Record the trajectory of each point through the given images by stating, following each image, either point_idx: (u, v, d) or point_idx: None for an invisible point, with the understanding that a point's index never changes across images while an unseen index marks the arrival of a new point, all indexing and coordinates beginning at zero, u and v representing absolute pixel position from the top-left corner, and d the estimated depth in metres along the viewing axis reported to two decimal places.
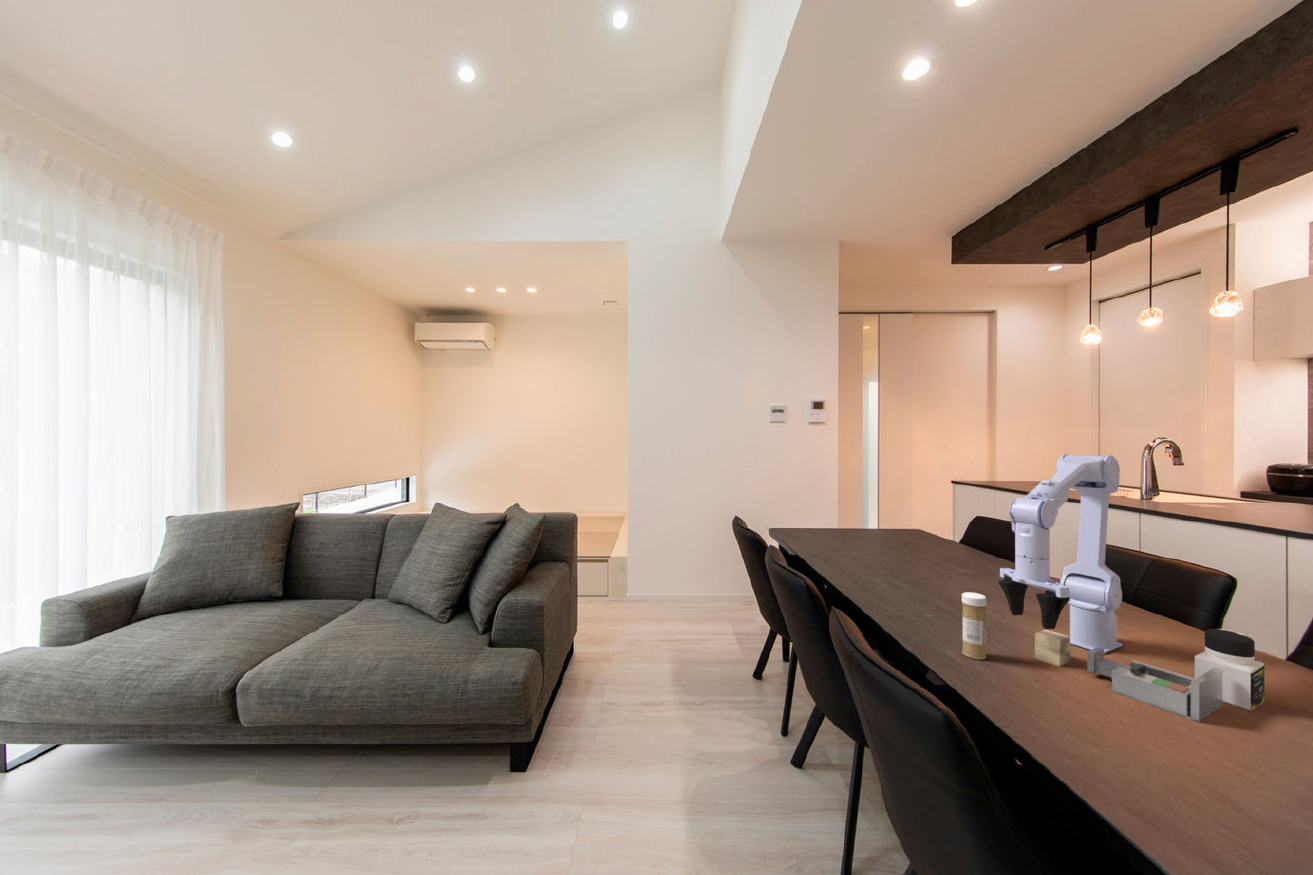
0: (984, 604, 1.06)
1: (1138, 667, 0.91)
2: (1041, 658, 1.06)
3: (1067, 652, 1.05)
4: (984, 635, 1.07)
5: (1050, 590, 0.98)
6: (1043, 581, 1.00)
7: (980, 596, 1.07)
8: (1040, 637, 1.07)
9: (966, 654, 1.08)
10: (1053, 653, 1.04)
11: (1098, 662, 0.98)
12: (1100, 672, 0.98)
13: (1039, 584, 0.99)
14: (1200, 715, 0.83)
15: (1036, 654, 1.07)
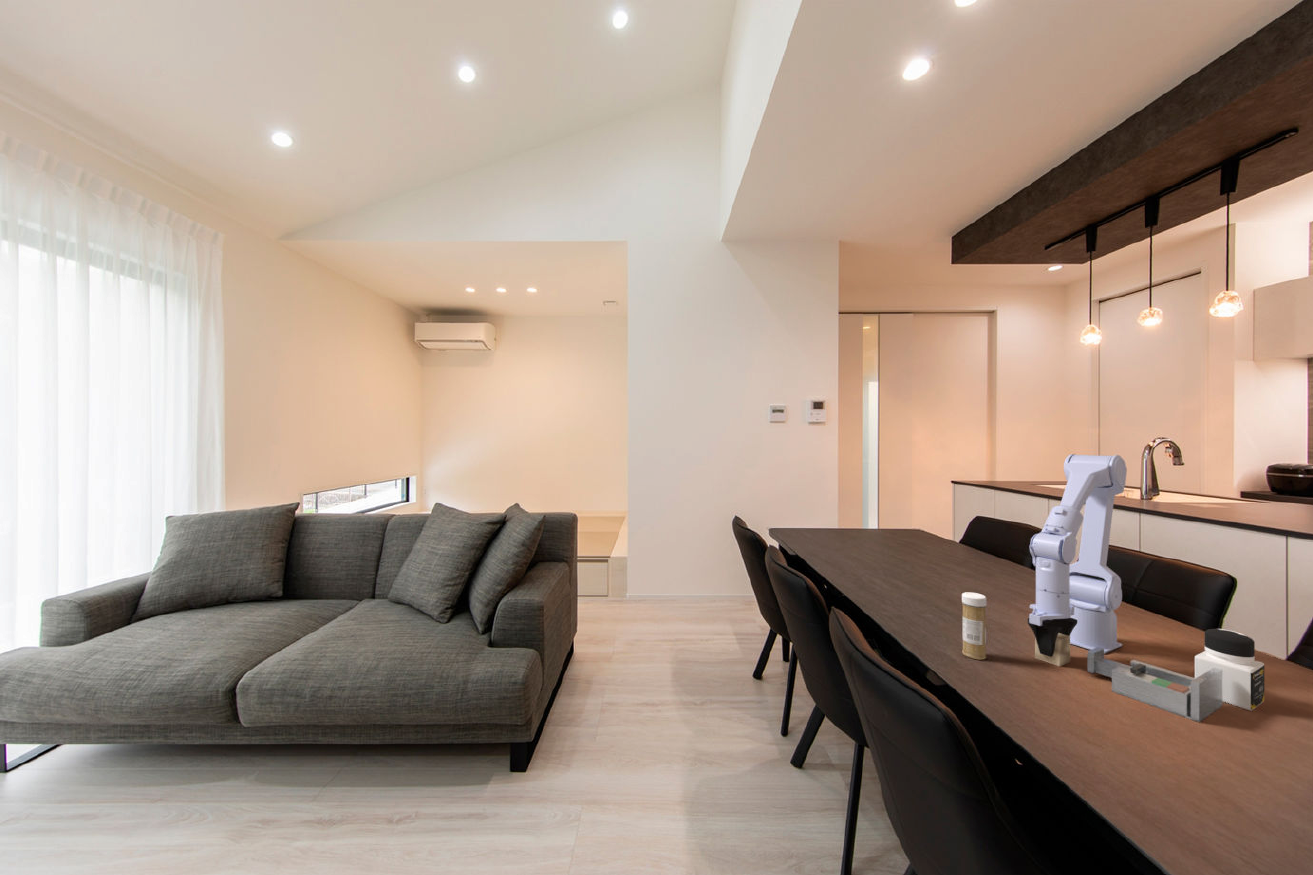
0: (984, 604, 1.06)
1: (1138, 667, 0.91)
2: (1041, 658, 1.06)
3: (1067, 652, 1.05)
4: (984, 635, 1.07)
5: None
6: (1043, 611, 1.05)
7: (980, 596, 1.07)
8: None
9: (966, 654, 1.08)
10: None
11: (1098, 662, 0.98)
12: (1100, 672, 0.98)
13: None
14: (1200, 715, 0.83)
15: (1036, 654, 1.07)
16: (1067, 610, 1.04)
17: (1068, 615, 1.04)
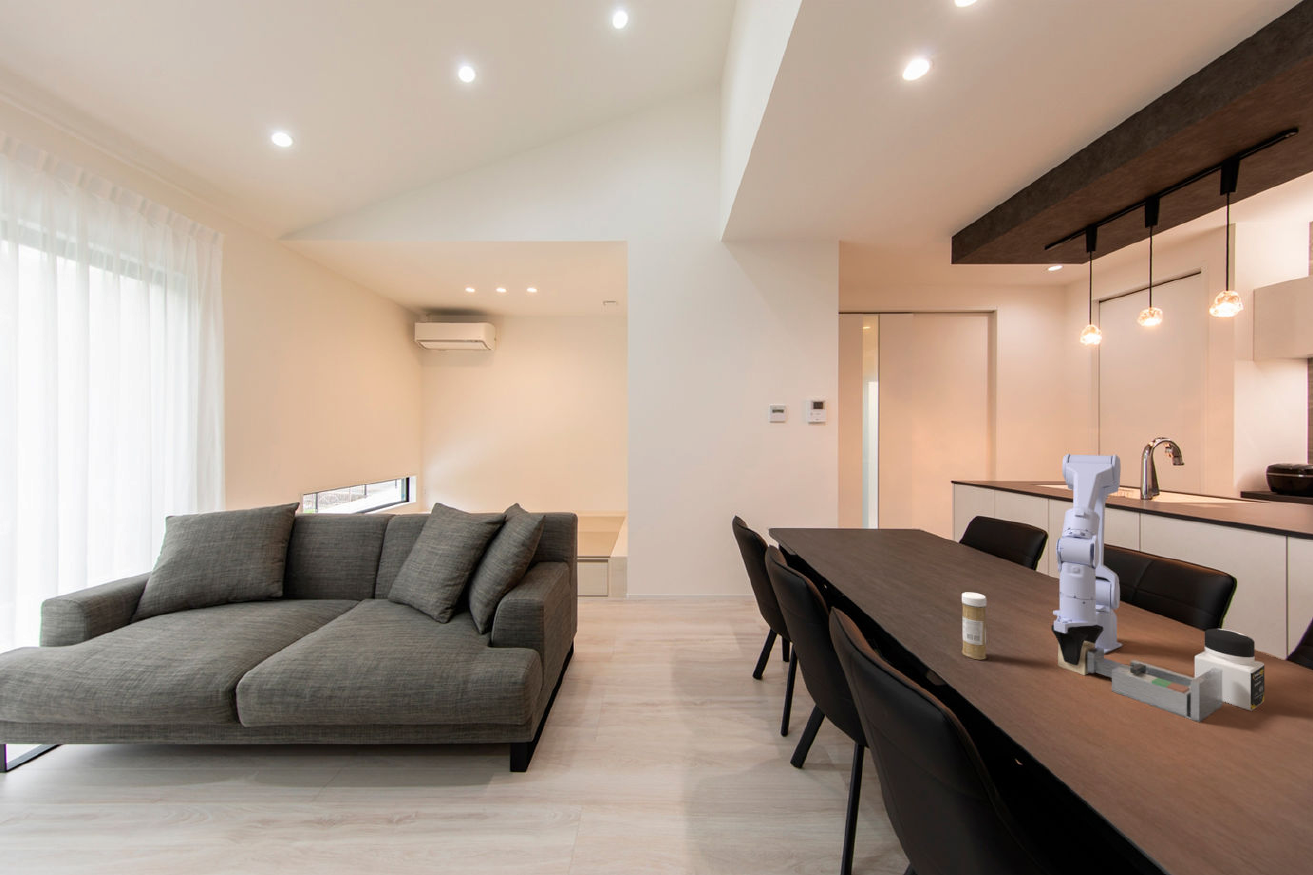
0: (984, 604, 1.06)
1: (1138, 667, 0.91)
2: (1065, 666, 1.03)
3: None
4: (984, 635, 1.07)
5: None
6: (1068, 618, 1.02)
7: (980, 596, 1.07)
8: None
9: (966, 654, 1.08)
10: None
11: (1098, 662, 0.98)
12: (1100, 672, 0.98)
13: None
14: (1200, 715, 0.83)
15: (1059, 662, 1.03)
16: (1093, 617, 1.00)
17: (1094, 622, 1.00)
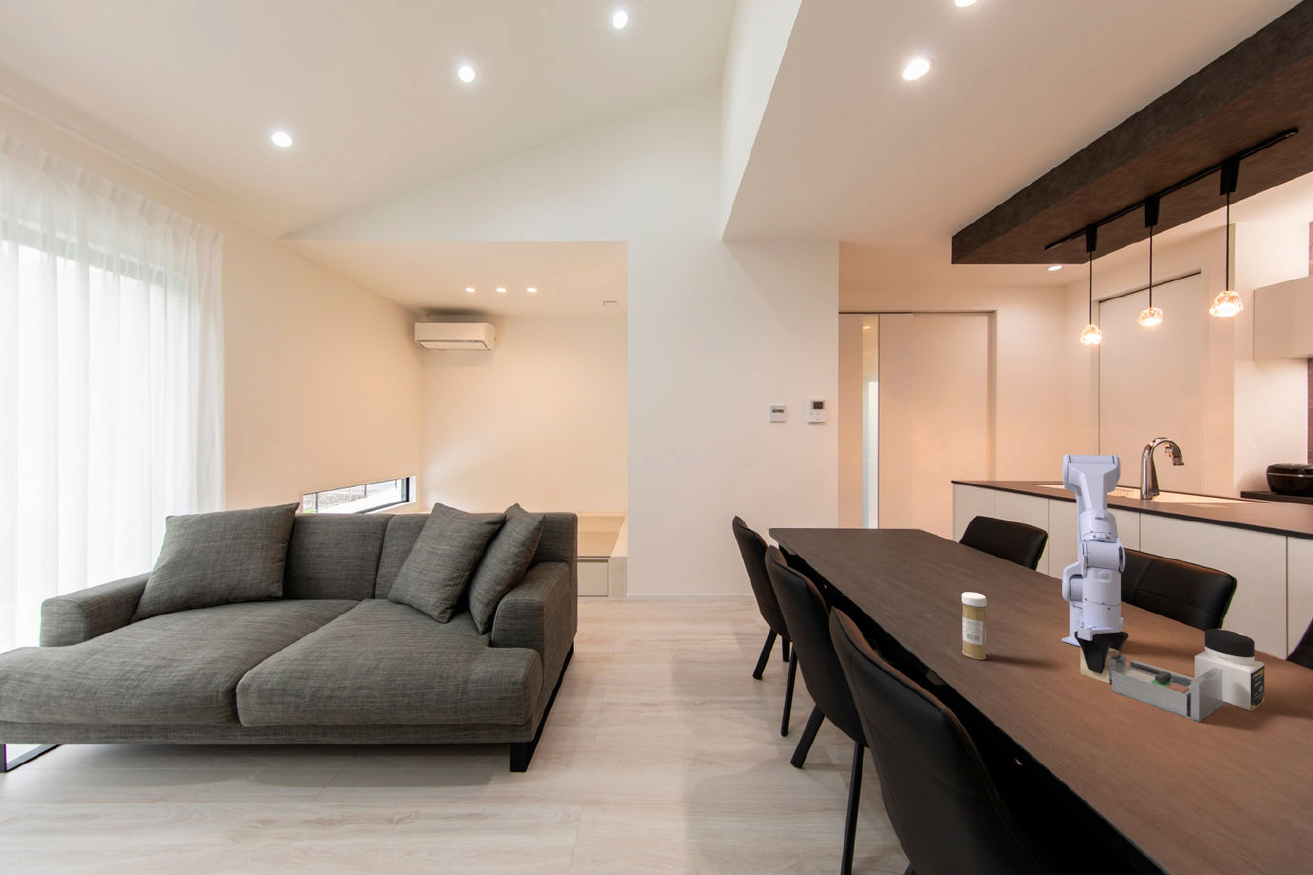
0: (984, 604, 1.06)
1: (1163, 675, 0.88)
2: (1088, 674, 0.99)
3: None
4: (984, 635, 1.07)
5: None
6: (1092, 624, 0.98)
7: (980, 596, 1.07)
8: None
9: (966, 654, 1.08)
10: None
11: None
12: None
13: None
14: (1200, 715, 0.83)
15: (1082, 669, 1.00)
16: (1118, 623, 0.96)
17: (1120, 629, 0.96)
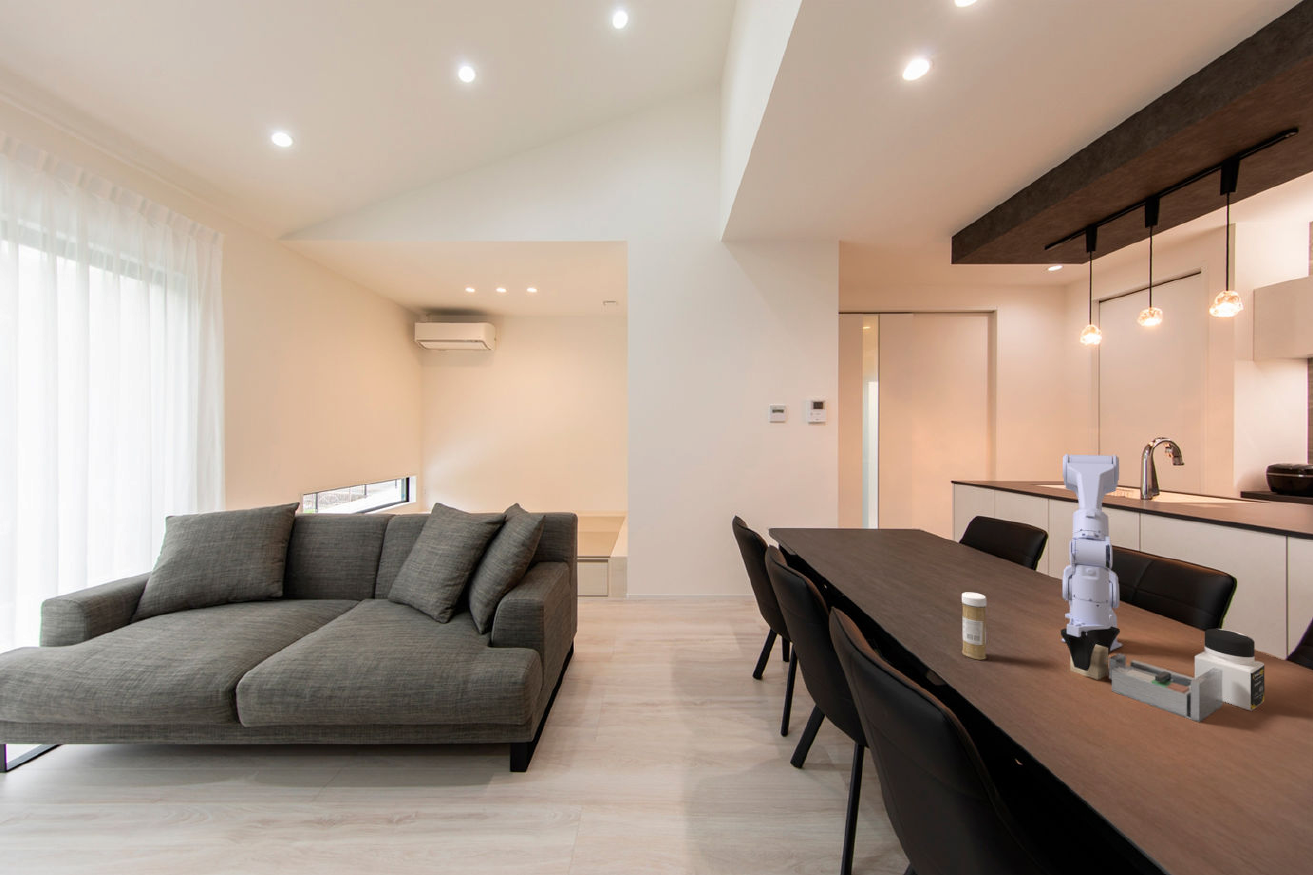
0: (984, 604, 1.06)
1: (1163, 675, 0.88)
2: (1077, 670, 1.01)
3: (1105, 664, 0.99)
4: (984, 635, 1.07)
5: None
6: (1081, 621, 1.00)
7: (980, 596, 1.07)
8: None
9: (966, 654, 1.08)
10: (1091, 665, 0.99)
11: None
12: None
13: None
14: (1200, 715, 0.83)
15: (1072, 666, 1.02)
16: (1107, 620, 0.98)
17: (1108, 625, 0.98)
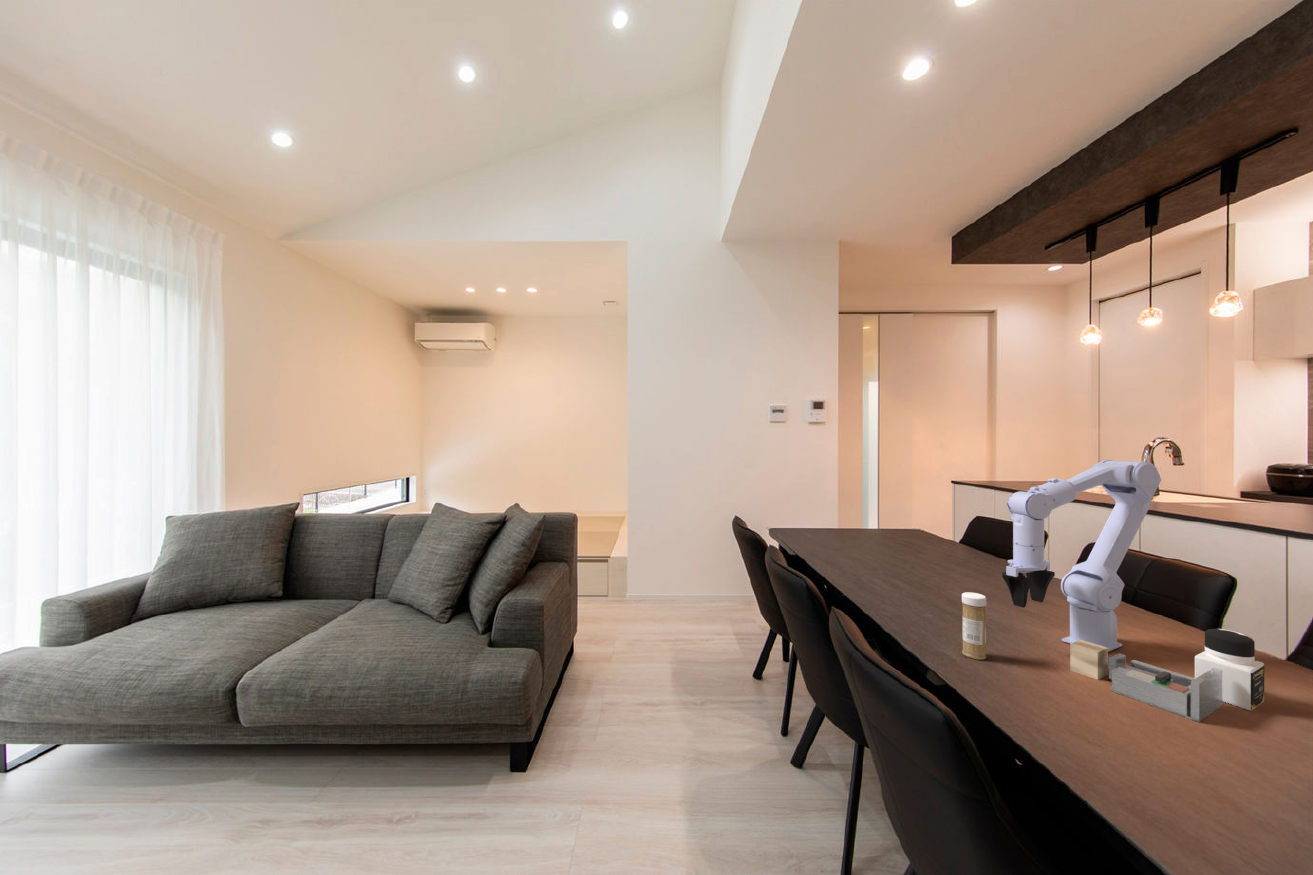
0: (984, 604, 1.06)
1: (1163, 675, 0.88)
2: (1077, 670, 1.01)
3: (1105, 664, 0.99)
4: (984, 635, 1.07)
5: None
6: (1019, 564, 1.12)
7: (980, 596, 1.07)
8: (1076, 648, 1.01)
9: (966, 654, 1.08)
10: (1091, 665, 0.99)
11: None
12: None
13: None
14: (1200, 715, 0.83)
15: (1072, 666, 1.02)
16: (1042, 563, 1.11)
17: (1043, 567, 1.10)
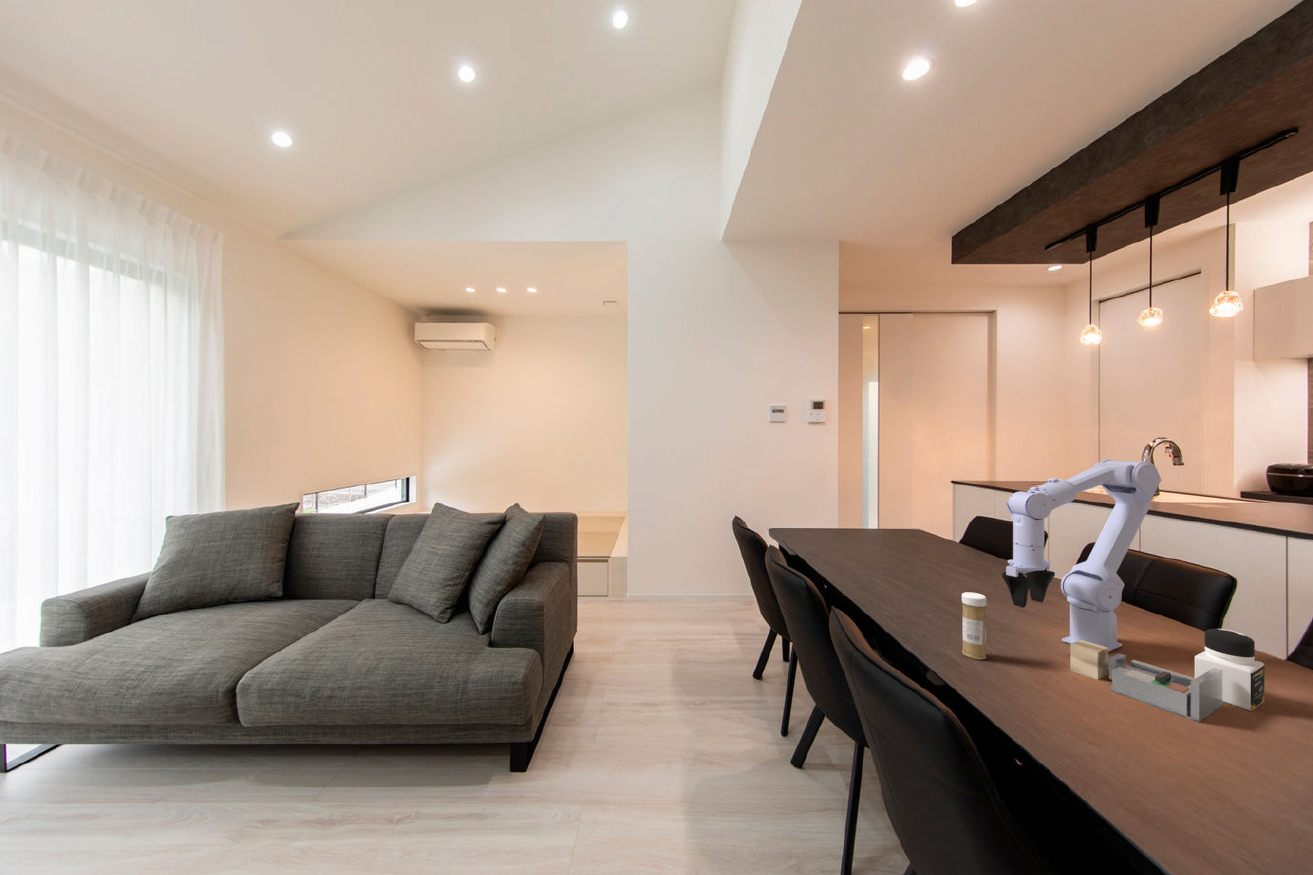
0: (984, 604, 1.06)
1: (1163, 675, 0.88)
2: (1077, 670, 1.01)
3: (1105, 664, 0.99)
4: (984, 635, 1.07)
5: None
6: (1019, 564, 1.12)
7: (980, 596, 1.07)
8: (1076, 648, 1.01)
9: (966, 654, 1.08)
10: (1091, 665, 0.99)
11: None
12: None
13: None
14: (1200, 715, 0.83)
15: (1072, 666, 1.02)
16: (1042, 563, 1.11)
17: (1043, 567, 1.10)
